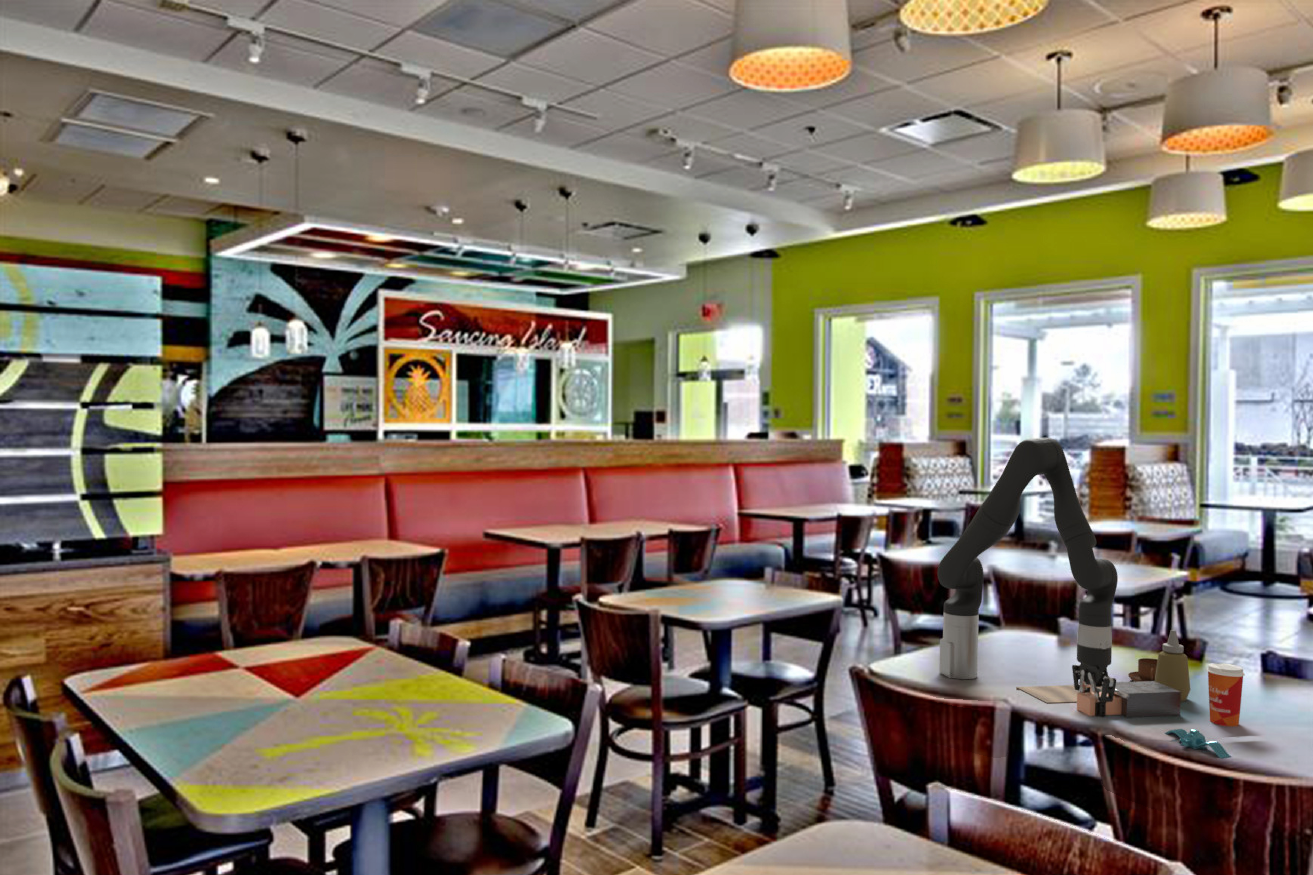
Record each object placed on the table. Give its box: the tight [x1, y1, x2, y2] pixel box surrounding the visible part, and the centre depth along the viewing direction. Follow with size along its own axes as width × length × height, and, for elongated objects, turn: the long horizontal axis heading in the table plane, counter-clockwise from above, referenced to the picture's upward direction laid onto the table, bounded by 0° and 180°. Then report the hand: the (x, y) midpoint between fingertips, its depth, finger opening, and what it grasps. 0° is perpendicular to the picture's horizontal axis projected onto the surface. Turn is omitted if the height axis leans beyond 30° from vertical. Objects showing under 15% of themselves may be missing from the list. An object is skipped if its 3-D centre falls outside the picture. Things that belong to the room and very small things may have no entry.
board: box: [1015, 684, 1101, 704], centre depth 244 cm, size 26×14×1 cm, turn 100°
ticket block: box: [1076, 692, 1122, 717], centre depth 229 cm, size 18×5×4 cm, turn 100°
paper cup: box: [1205, 662, 1246, 727], centre depth 221 cm, size 8×8×14 cm
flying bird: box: [1164, 728, 1232, 759], centre depth 207 cm, size 15×7×4 cm, turn 22°
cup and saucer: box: [1128, 657, 1158, 682], centre depth 258 cm, size 12×12×6 cm
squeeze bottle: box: [1155, 629, 1191, 702], centre depth 241 cm, size 8×8×18 cm
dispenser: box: [1100, 681, 1182, 719], centre depth 230 cm, size 15×10×7 cm
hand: (1092, 713), depth 228 cm, fingers closed on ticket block, 5 cm apart
